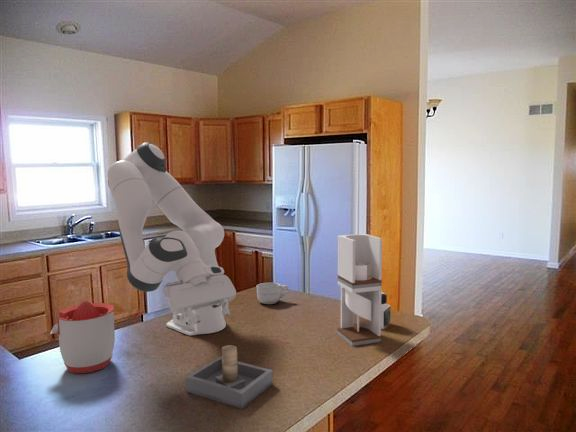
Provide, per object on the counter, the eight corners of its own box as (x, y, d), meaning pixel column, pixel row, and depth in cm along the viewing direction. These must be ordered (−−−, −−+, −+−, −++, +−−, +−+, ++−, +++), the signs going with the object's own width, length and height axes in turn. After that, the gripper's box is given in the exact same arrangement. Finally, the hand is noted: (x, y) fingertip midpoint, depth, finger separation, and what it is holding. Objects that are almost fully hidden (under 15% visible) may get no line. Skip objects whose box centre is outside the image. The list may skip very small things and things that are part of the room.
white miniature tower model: (337, 333, 154) (337, 235, 150) (364, 329, 157) (365, 233, 153) (352, 345, 143) (352, 240, 139) (380, 341, 146) (382, 238, 143)
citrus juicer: (55, 361, 134) (51, 297, 132) (116, 351, 141) (112, 290, 139) (50, 383, 120) (45, 313, 118) (118, 371, 127) (114, 304, 125)
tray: (186, 391, 115) (185, 376, 115) (219, 369, 127) (219, 356, 127) (242, 409, 106) (241, 393, 106) (272, 384, 118) (272, 370, 118)
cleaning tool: (215, 382, 118) (214, 346, 117) (231, 376, 121) (230, 341, 120) (229, 392, 112) (228, 355, 111) (245, 386, 115) (244, 349, 114)
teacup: (254, 305, 186) (253, 287, 186) (259, 298, 197) (259, 280, 196) (286, 307, 184) (286, 288, 183) (290, 299, 195) (290, 281, 194)
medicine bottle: (383, 329, 157) (384, 297, 156) (365, 326, 161) (365, 294, 160) (390, 323, 163) (391, 292, 162) (372, 320, 167) (372, 289, 166)
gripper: (164, 278, 120) (182, 321, 114) (227, 266, 133) (246, 305, 127) (158, 290, 124) (175, 333, 118) (220, 278, 137) (238, 316, 131)
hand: (212, 318), depth 123 cm, fingers open, 8 cm apart
